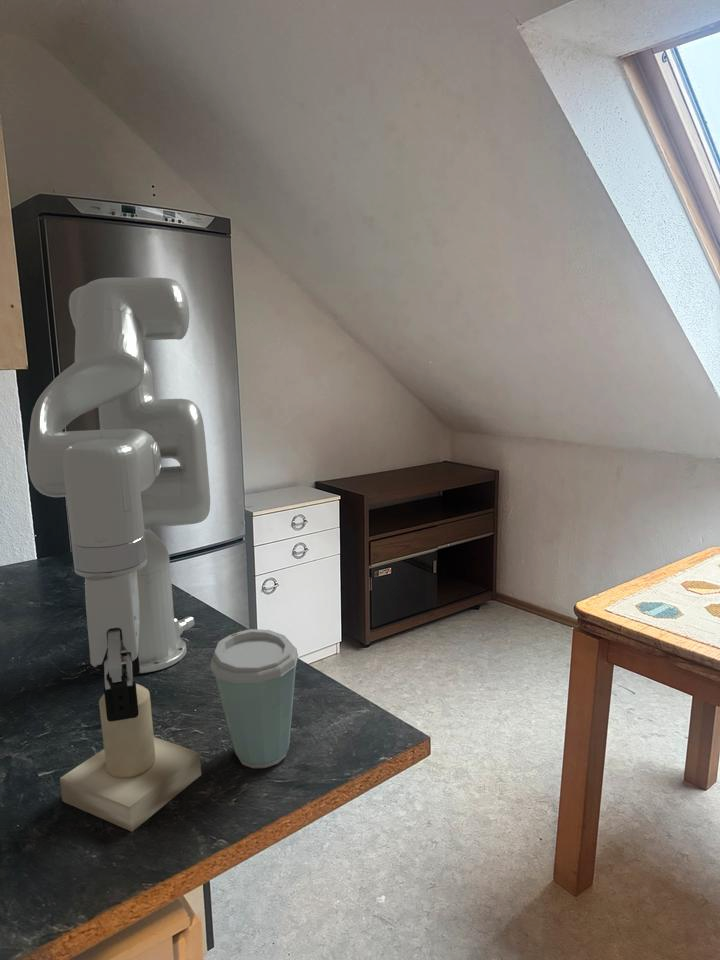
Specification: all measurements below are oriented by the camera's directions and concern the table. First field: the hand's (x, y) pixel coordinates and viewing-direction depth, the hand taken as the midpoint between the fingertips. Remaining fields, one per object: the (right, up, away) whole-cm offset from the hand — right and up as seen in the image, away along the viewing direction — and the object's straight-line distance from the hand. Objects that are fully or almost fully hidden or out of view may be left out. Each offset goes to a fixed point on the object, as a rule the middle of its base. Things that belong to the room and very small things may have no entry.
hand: (124, 695), depth 80 cm
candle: (0, -9, +2) cm, 9 cm away
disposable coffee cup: (+14, -10, +8) cm, 19 cm away
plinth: (0, -11, +2) cm, 12 cm away
